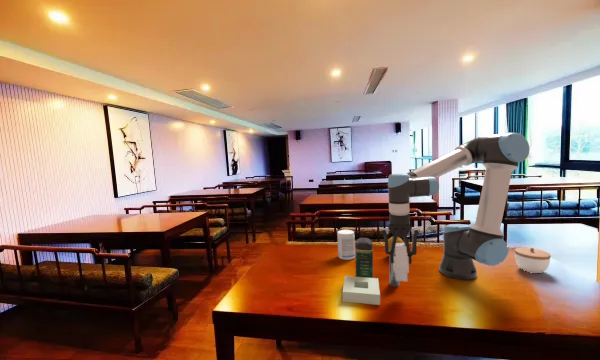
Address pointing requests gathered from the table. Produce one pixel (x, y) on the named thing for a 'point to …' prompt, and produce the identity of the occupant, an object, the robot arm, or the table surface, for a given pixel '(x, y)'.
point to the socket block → (361, 290)
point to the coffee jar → (364, 257)
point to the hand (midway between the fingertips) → (401, 271)
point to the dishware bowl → (532, 259)
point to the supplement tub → (346, 244)
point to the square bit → (401, 262)
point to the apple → (396, 242)
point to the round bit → (392, 276)
